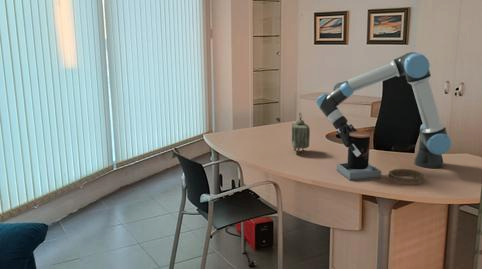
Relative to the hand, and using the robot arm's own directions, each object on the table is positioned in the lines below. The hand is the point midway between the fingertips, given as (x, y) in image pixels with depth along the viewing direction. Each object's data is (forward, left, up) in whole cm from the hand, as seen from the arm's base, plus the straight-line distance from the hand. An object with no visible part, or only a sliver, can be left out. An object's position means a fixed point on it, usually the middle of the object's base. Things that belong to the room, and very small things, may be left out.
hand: (363, 152), depth 247 cm
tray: (+2, -2, -12) cm, 12 cm away
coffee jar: (+2, -2, -8) cm, 9 cm away
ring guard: (-18, +11, -12) cm, 25 cm away
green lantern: (+18, -50, -12) cm, 55 cm away
